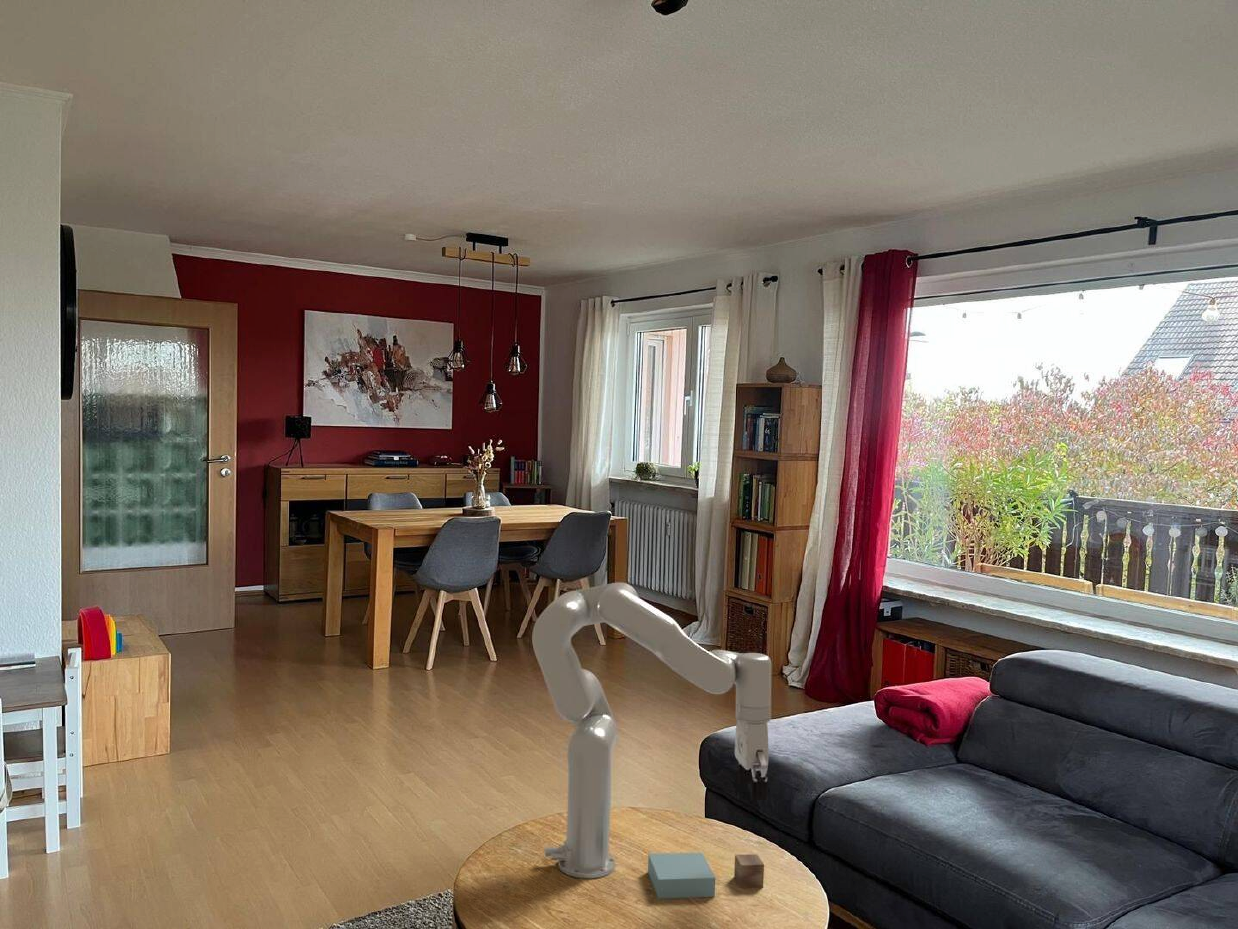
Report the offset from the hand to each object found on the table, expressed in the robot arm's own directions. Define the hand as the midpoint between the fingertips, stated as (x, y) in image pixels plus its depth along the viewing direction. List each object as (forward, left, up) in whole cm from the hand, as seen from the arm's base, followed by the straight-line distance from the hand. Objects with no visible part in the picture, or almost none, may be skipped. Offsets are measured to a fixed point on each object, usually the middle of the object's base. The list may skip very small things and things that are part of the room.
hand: (752, 791), depth 202 cm
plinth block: (-15, 0, -20) cm, 25 cm away
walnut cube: (0, 0, -20) cm, 20 cm away
